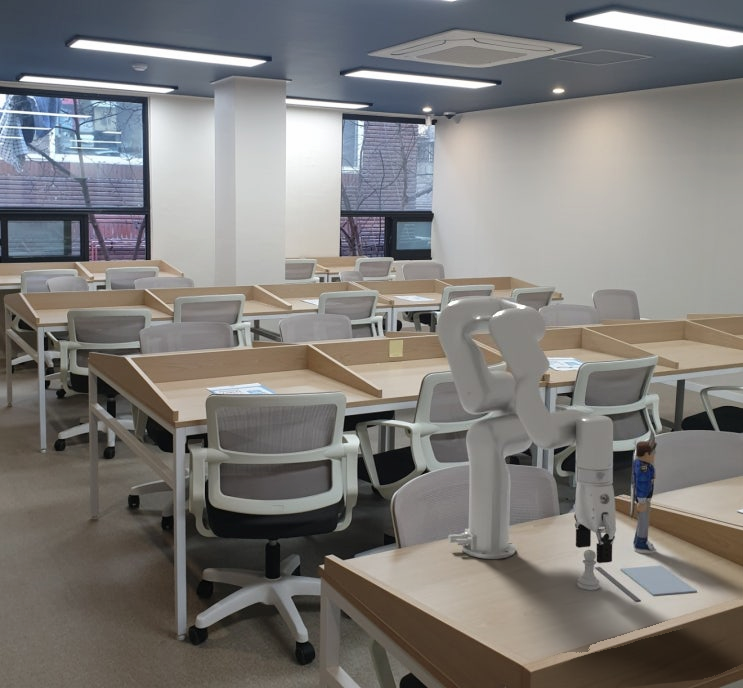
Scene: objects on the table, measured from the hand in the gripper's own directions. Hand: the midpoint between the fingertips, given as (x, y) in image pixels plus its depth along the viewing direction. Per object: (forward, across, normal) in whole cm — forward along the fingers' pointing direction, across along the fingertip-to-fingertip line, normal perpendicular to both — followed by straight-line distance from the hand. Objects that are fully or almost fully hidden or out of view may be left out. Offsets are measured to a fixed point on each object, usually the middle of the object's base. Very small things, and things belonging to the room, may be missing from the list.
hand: (593, 554), depth 180 cm
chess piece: (+7, +1, +1) cm, 8 cm away
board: (+7, +1, -13) cm, 15 cm away
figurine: (+7, +19, -21) cm, 30 cm away
